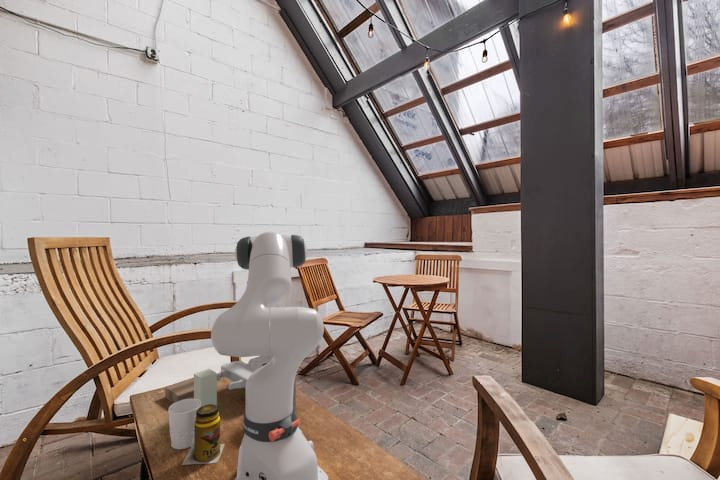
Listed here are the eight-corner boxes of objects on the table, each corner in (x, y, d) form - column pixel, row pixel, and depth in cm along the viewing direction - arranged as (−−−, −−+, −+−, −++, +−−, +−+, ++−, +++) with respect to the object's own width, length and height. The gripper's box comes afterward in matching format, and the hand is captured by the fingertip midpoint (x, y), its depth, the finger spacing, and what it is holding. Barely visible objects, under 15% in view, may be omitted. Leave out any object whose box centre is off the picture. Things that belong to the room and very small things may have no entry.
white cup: (163, 444, 91) (162, 407, 91) (191, 430, 98) (191, 395, 98) (178, 455, 87) (178, 416, 87) (207, 439, 93) (207, 403, 93)
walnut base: (208, 396, 119) (208, 385, 118) (178, 407, 111) (178, 395, 111) (194, 388, 125) (194, 377, 125) (165, 398, 117) (165, 386, 117)
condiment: (217, 463, 84) (217, 415, 84) (181, 465, 83) (180, 417, 83) (225, 444, 92) (225, 400, 91) (191, 447, 90) (191, 402, 90)
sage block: (216, 410, 109) (216, 373, 109) (201, 416, 105) (201, 378, 105) (209, 404, 112) (209, 368, 112) (194, 410, 108) (193, 373, 108)
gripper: (242, 354, 129) (206, 364, 119) (274, 368, 116) (236, 381, 106) (242, 370, 130) (206, 382, 119) (274, 386, 116) (236, 402, 106)
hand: (220, 382), depth 112 cm, fingers open, 8 cm apart
